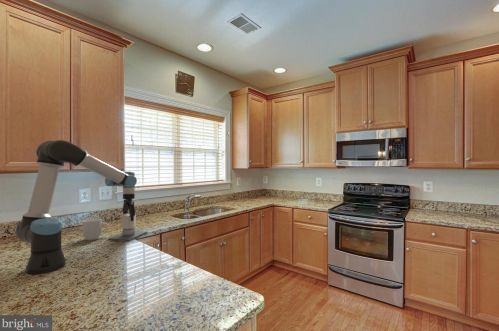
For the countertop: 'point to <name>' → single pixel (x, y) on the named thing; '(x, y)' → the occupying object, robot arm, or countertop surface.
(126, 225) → the cream cube block
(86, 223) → the mug
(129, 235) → the post base
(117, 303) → the countertop surface
